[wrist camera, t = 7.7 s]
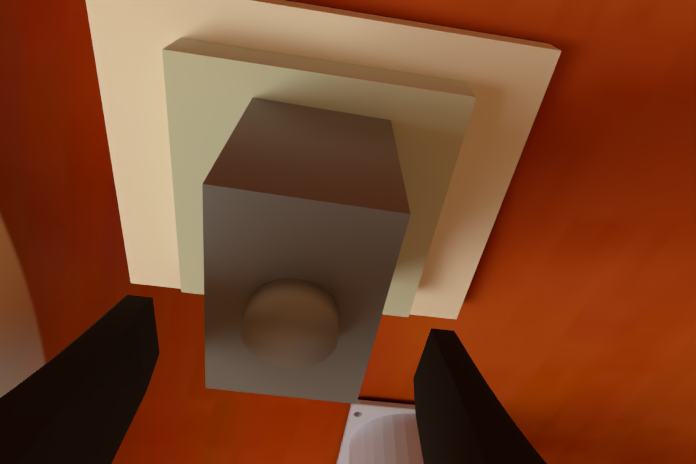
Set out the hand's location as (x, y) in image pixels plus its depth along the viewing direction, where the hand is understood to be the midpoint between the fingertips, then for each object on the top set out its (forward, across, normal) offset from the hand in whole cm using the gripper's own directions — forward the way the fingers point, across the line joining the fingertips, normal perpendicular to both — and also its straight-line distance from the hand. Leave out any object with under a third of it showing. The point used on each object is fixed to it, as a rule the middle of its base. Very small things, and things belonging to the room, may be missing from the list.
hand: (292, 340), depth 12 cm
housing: (+6, 0, -1) cm, 6 cm away
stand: (+9, 0, 0) cm, 9 cm away
